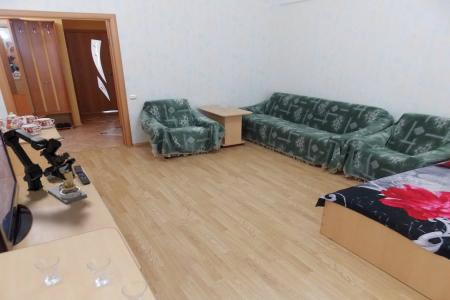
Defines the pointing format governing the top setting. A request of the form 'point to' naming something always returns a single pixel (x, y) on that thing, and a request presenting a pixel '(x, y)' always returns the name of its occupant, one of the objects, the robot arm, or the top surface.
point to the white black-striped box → (60, 171)
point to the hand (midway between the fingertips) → (69, 178)
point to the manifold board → (57, 194)
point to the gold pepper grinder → (68, 180)
